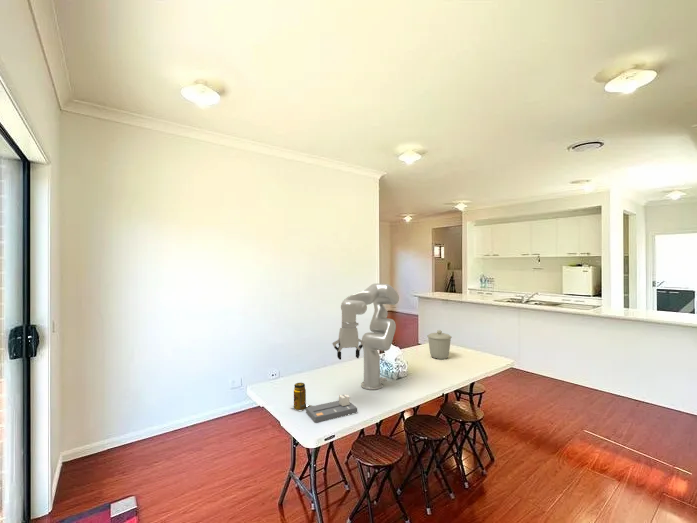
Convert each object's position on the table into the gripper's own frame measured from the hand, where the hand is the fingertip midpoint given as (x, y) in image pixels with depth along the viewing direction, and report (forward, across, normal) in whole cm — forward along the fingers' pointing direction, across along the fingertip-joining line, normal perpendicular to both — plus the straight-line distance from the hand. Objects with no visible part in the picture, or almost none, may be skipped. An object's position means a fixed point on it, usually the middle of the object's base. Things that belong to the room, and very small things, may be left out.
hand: (348, 358), depth 176 cm
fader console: (+24, +11, +8) cm, 27 cm away
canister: (+21, -93, -60) cm, 112 cm away
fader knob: (+21, +4, +7) cm, 22 cm away
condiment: (+24, +24, -3) cm, 34 cm away
